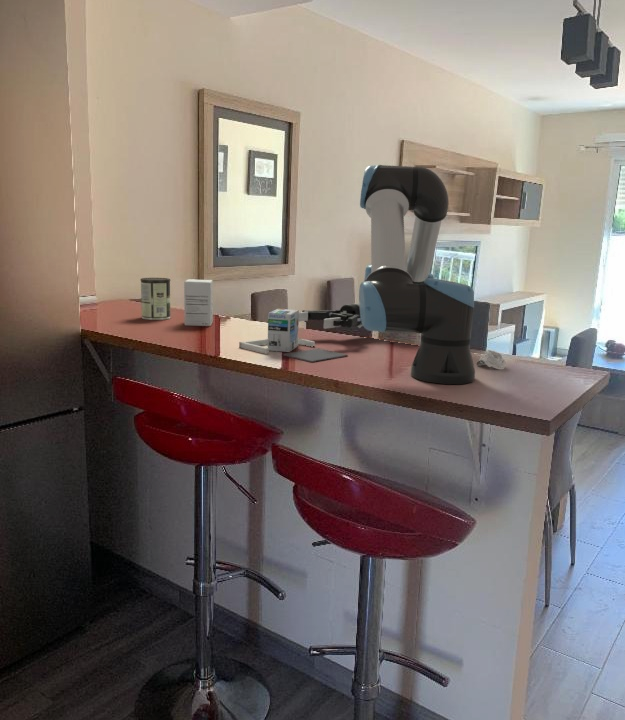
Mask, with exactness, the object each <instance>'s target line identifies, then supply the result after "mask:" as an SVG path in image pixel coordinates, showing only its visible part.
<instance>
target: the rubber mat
mask: <svg viewBox="0 0 625 720" xmlns="http://www.w3.org/2000/svg"><path fill="white" fill-rule="evenodd" d="M282 356H284V357H288V358H290V359H291V358H292V359H296V360H300V361H304V362H309V363H316V361H318V362H322V361H321V360H323V361H328V360H327V359H329V360H334V359H333V358H335V359H339V358H345V357H348V354H345V353H342V352H336V351H332V350H328V349H323V348H319V347H318V348H312V349H307V350H301V351H299V350H298V351H293V352H285V353H282Z"/></svg>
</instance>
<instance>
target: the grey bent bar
mask: <svg viewBox="0 0 625 720" xmlns="http://www.w3.org/2000/svg"><path fill="white" fill-rule="evenodd" d="M238 344H239V345H238V346H239V348H240V349H244V350H247V351H248V350H249V351H252V352H255V353H260V354H265V355H269V354H270V351H269V348H268V347H265V345H267V346H268V338H263V339H262V338H261V339H254V340H247V341H239V343H238ZM298 345H302V346H305V345H306V347H310V346H311V348H314V347H313V346H316V341H314V340H309V339H305V338H299V337H298Z"/></svg>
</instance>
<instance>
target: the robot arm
mask: <svg viewBox="0 0 625 720" xmlns="http://www.w3.org/2000/svg"><path fill="white" fill-rule="evenodd" d="M361 184H362V185H361V191H360V200H359V201H360V202H359V206H360V207H359V208H361V209H363V210H365V212H366V214H367V216H368V217H369V218H370V246H371V247H370V252H371V253H370V254H371V255H370V258H371V259H370V261H371V263H370V264H368V265H366V266H365V269H364V271H365V272H364V281H363V282H361V283H360V284H359V289H358V302H356V303H347V304H343V305H342V306H341V308H340V309H335V310H332V309H327V310H326V309H325V310H320V309H318V310H315V309H312V310H303V309H302V310H301V312H300V311H299V323H300V322H305V323H307V322H308V321H323V328H322V329H325V330H326V329H332V328H333V329H334V328H340V327H342V328H346V329H351V328H352V329H353V328H359V329H361V328H362V327H363V328H364V329H365V330H366V331H370V332H378V333H386V332H387V333H403V334H404V333H406V334H407V333H408V334H420V344H419V347H418V349H417V352H416V354H415V357H414V359H413V361H412V364H411V368H410V376H411V377H413V379H417V380H420V381H422V382H427V383H432V384H433V383H434V384H442V385H464V384H469V383H472V382H474V381H475V377H476V375H475V374H476V370H475V365H474V361H473V360H474V359H473V357H472V352H471V347H470V346H471V337H472V326H473V316H474V308H475V291H474V289H473V288H472V287H471V286H470V285H468V284H463V283H460V282H455V281H450V280H445V279H444V280H443V279H438V278H434V275H433V274H432V273H431V272H430V271H431V268H432V263H433V260H434V259H433V258H434V255H435V251H436V246H437V241H438V238H439V237H438V236H439V234H440V229H441V225H442V221H444V220H445V218H446V217H447V215H448V210H449V205H450V204H449V202H450V201H449V194H448V191H447V188H446V186H445V184H444V182H443V180H442V179H441V177H439V175H438V174H436V173H435V171H433V170H431V169H429V168H428V167H425V166H409V165H408V166H407V165H406V166H405V165H388V164H387V165H386V164H378V165H368V166H367V167H366V168H365V170H364V173H363V177H362V183H361ZM408 211H412V212H413V216H414V217H415V218H414V223H413V229H412V234H411V240H410V246H409V251H408V255H407V261H406V241H405V238H406V237H405V219H404V217H405V216H406V214H407V213H408Z"/></svg>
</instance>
